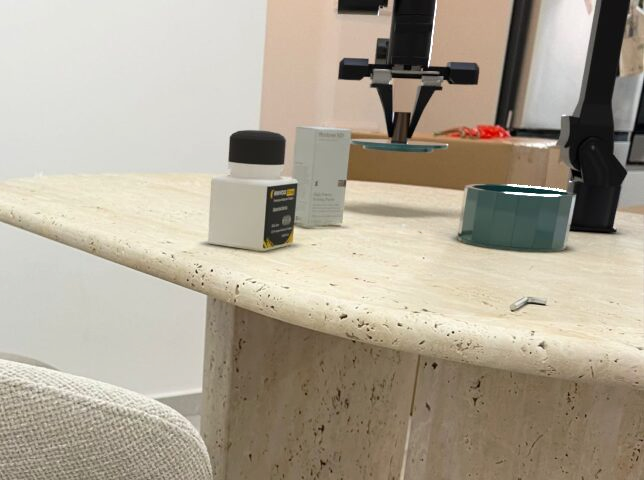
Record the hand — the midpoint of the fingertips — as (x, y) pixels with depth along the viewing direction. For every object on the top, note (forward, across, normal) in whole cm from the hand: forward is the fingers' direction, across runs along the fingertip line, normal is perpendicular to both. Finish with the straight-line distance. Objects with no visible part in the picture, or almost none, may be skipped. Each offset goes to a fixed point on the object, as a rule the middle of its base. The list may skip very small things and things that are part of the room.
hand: (399, 138), depth 133 cm
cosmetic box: (+11, +11, +16) cm, 22 cm away
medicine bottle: (+11, +18, +36) cm, 42 cm away
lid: (+1, 0, 0) cm, 1 cm away
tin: (+11, -13, +21) cm, 27 cm away
